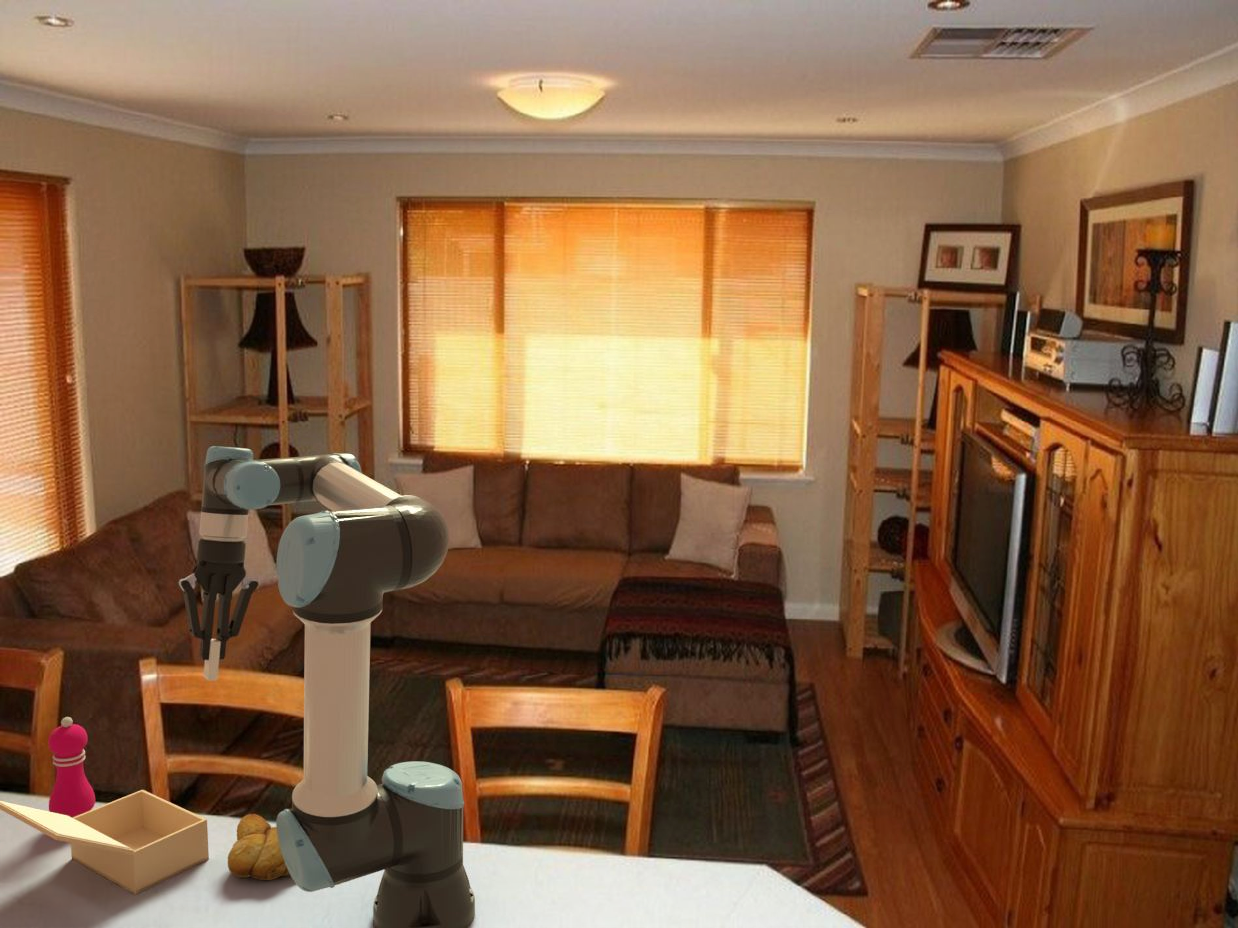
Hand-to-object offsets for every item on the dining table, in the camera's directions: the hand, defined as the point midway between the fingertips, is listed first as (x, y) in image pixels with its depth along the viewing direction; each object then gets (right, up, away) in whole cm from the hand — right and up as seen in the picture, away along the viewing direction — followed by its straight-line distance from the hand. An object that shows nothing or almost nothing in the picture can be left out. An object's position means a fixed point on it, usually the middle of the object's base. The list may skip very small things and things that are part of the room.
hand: (210, 678), depth 181 cm
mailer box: (-10, -29, -3) cm, 31 cm away
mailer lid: (-17, -19, -15) cm, 30 cm away
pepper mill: (-26, -27, +7) cm, 38 cm away
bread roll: (+12, -30, -6) cm, 33 cm away
